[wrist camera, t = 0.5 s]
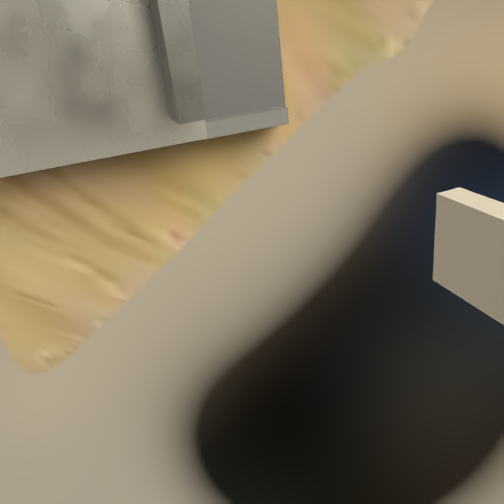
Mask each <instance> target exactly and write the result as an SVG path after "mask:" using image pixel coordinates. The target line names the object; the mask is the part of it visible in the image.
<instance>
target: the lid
mask: <svg viewBox="0 0 504 504" xmlns="http://www.w3.org/2000/svg"><path fill="white" fill-rule="evenodd" d="M205 120H206V114H205V108H204V101H203V95H202V89H201V82H200V76H199V69H198V63H197V57H196V50H195V44H194V37H193V31H192V25H191V18H190V12H189V5H188V0H0V178H2V177H7V176H12V175H18V174H23V173H28V172H33V171H39V170H44V169H49V168H54V167H60V166H65V165H70V164H75V163H81V162H86V161H91V160H96V159H102V158H107V157H112V156H118V155H123V154H128V153H133V152H139V151H144V150H149V149H154V148H160V147H165V146H170V145H175V144H181V143H186V142H191V141H196V140H202V139H207V138H208V137H207V130H206V124H205Z"/></svg>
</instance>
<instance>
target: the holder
mask: <svg viewBox="0 0 504 504" xmlns="http://www.w3.org/2000/svg"><path fill="white" fill-rule="evenodd" d="M188 5H189V12H190V18H191V25H192V31H193V37H194V44H195V50H196V57H197V63H198V69H199V76H200V82H201V89H202V95H203V101H204V108H205V114H206V120H205V124H206V130H207V137H208V138H207V139H211V138H216V137H221V136H226V135H232V134H237V133H242V132H247V131H253V130H258V129H263V128H268V127H274V126H279V125H284V124H289V121H288V109H287V108H286V107H285V96H284V84H283V72H282V61H281V49H280V37H279V26H278V14H277V2H276V0H188ZM202 140H205V139H202ZM196 141H200V140H196ZM191 142H195V141H191ZM186 143H190V142H186ZM181 144H184V143H181ZM175 145H179V144H175ZM170 146H174V145H170ZM165 147H169V146H165ZM160 148H163V147H160ZM154 149H158V148H154ZM149 150H153V149H149ZM144 151H148V150H144ZM139 152H142V151H139ZM133 153H137V152H133ZM128 154H132V153H128ZM123 155H127V154H123ZM118 156H121V155H118ZM112 157H116V156H112ZM107 158H111V157H107ZM102 159H106V158H102ZM96 160H100V159H96ZM91 161H95V160H91ZM86 162H90V161H86ZM81 163H85V162H81ZM75 164H79V163H75ZM70 165H74V164H70ZM65 166H69V165H65ZM60 167H64V166H60ZM54 168H58V167H54ZM49 169H53V168H49ZM44 170H48V169H44ZM39 171H43V170H39ZM33 172H37V171H33ZM28 173H32V172H28ZM23 174H27V173H23ZM18 175H22V174H18ZM12 176H16V175H12ZM7 177H11V176H7ZM4 178H6V177H4Z"/></svg>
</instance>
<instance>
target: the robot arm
mask: <svg viewBox="0 0 504 504" xmlns="http://www.w3.org/2000/svg"><path fill="white" fill-rule="evenodd" d="M433 280H434V281H436V282H437V283H439V284H440V285H442V286H444V287H445V288H447V289H448V290H450V291H451V292H453V293H454V294H456V295H458V296H459V297H461V298H463V299H464V300H465V301H467V302H469V303H470V304H472V305H473V306H475V307H477V308H478V309H479V310H481V311H483V312H484V313H486V314H488V315H489V316H490V317H492V318H494V319H495V320H497V321H498V322H500V323H501V324H503V325H504V203H502V202H499V201H496V200H493V199H490V198H488V197H485V196H482V195H479V194H476V193H473V192H471V191H468V190H465V189H463V188H460V187H459V188H456V189H452V190H448V191H445V192H441V193H437V204H436V226H435V245H434V266H433Z"/></svg>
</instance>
